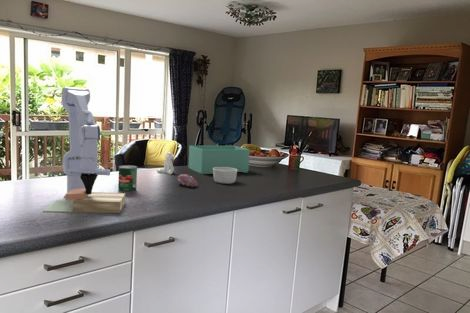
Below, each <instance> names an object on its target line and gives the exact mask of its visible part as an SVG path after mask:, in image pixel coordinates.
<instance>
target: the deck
mask: <svg viewBox="0 0 470 313" xmlns="http://www.w3.org/2000/svg"><path fill="white" fill-rule="evenodd" d="M72 201H73V212H72V213H101V214H102V213H103V214H106V213H107V214H108V213H109V214H112V213H115V214H120V213H121V212H122V209H123V208H124V206H125V205H126V193H123V192H104V191H102V192H101V191H100V192H96V191H95V192H93V191H92V193H91V194H88V195H87V196H86V197H85V198H84V199H73V200H72Z"/></svg>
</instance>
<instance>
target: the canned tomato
mask: <svg viewBox="0 0 470 313" xmlns="http://www.w3.org/2000/svg"><path fill="white" fill-rule="evenodd" d="M137 179H138V166H137V165H131V164H127V165H125V164H124V165H119V166H118V185H117V188H118V189H117V190H118V193H123V192H124V193H125V194H129V193H130V192H131V193H136V191H137Z"/></svg>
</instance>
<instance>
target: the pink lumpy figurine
mask: <svg viewBox="0 0 470 313" xmlns="http://www.w3.org/2000/svg"><path fill="white" fill-rule="evenodd" d="M176 180H177V181H178V182H179V184H181V185H182V186H185V185H186V186H187V187H190V186H191V185H192V186H193V187H198V182H197V180H196V179H195V178H194V177H193V176H192V175H189V174H182V173H181V174H179V175H178V176H177V178H176Z"/></svg>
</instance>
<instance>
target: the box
mask: <svg viewBox="0 0 470 313" xmlns="http://www.w3.org/2000/svg"><path fill="white" fill-rule="evenodd" d="M215 167H229V168H235V169H237V170H238V172H243V173H249V168H250V148H246V147H245V148H244V147H241V146H236V145H189V148H188V169H190V170H192V171H194V172H196V173H199V174H200V175H207V174H210V175H211V174H213V168H215Z"/></svg>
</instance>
